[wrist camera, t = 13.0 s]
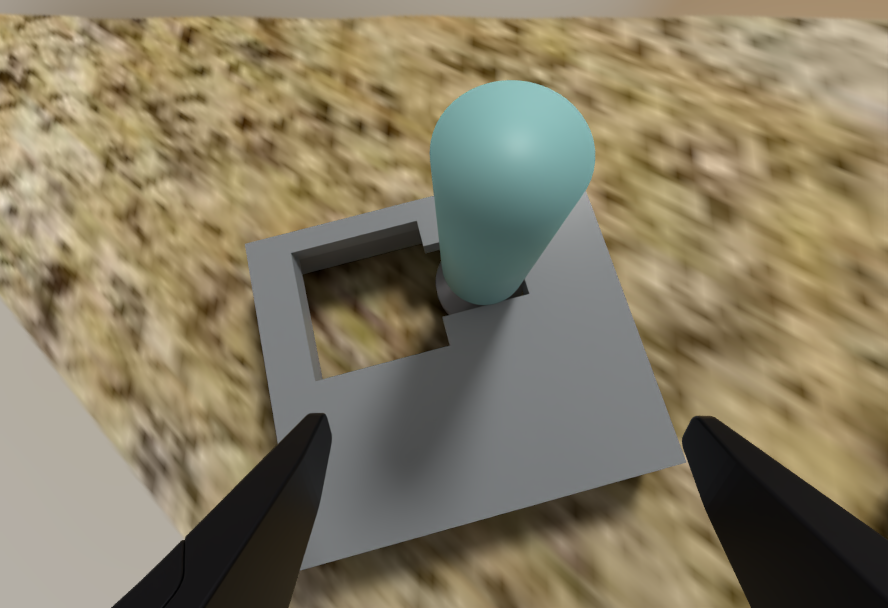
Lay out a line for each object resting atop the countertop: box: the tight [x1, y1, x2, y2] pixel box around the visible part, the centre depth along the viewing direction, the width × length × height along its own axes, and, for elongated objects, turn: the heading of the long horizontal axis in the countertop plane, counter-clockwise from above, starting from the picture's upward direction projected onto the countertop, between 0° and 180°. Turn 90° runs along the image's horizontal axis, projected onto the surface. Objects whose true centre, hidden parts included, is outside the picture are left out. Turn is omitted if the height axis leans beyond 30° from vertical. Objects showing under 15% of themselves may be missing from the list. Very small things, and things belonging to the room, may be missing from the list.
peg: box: [430, 80, 595, 315], centre depth 14 cm, size 4×4×12 cm
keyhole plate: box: [245, 190, 686, 570], centre depth 18 cm, size 14×16×3 cm
